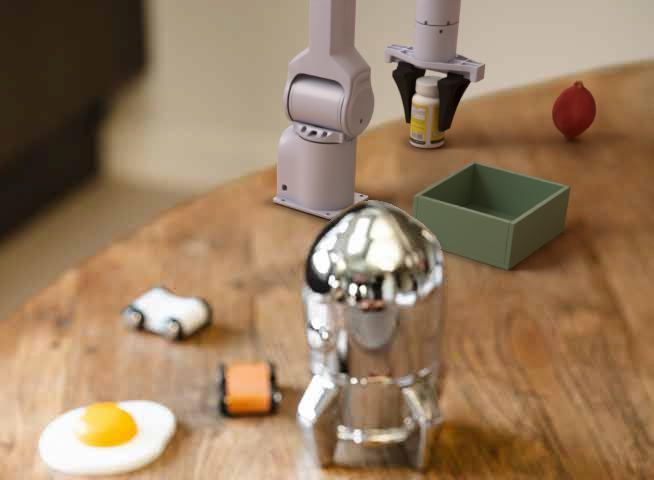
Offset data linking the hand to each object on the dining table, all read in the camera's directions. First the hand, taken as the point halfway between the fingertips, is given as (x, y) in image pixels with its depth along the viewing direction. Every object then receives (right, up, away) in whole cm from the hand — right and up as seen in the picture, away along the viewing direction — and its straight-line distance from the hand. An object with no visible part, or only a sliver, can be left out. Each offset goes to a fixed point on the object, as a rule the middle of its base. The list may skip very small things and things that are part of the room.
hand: (428, 125), depth 165 cm
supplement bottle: (0, -2, +2) cm, 3 cm away
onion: (+20, -1, +2) cm, 20 cm away
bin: (+4, -21, -21) cm, 31 cm away
